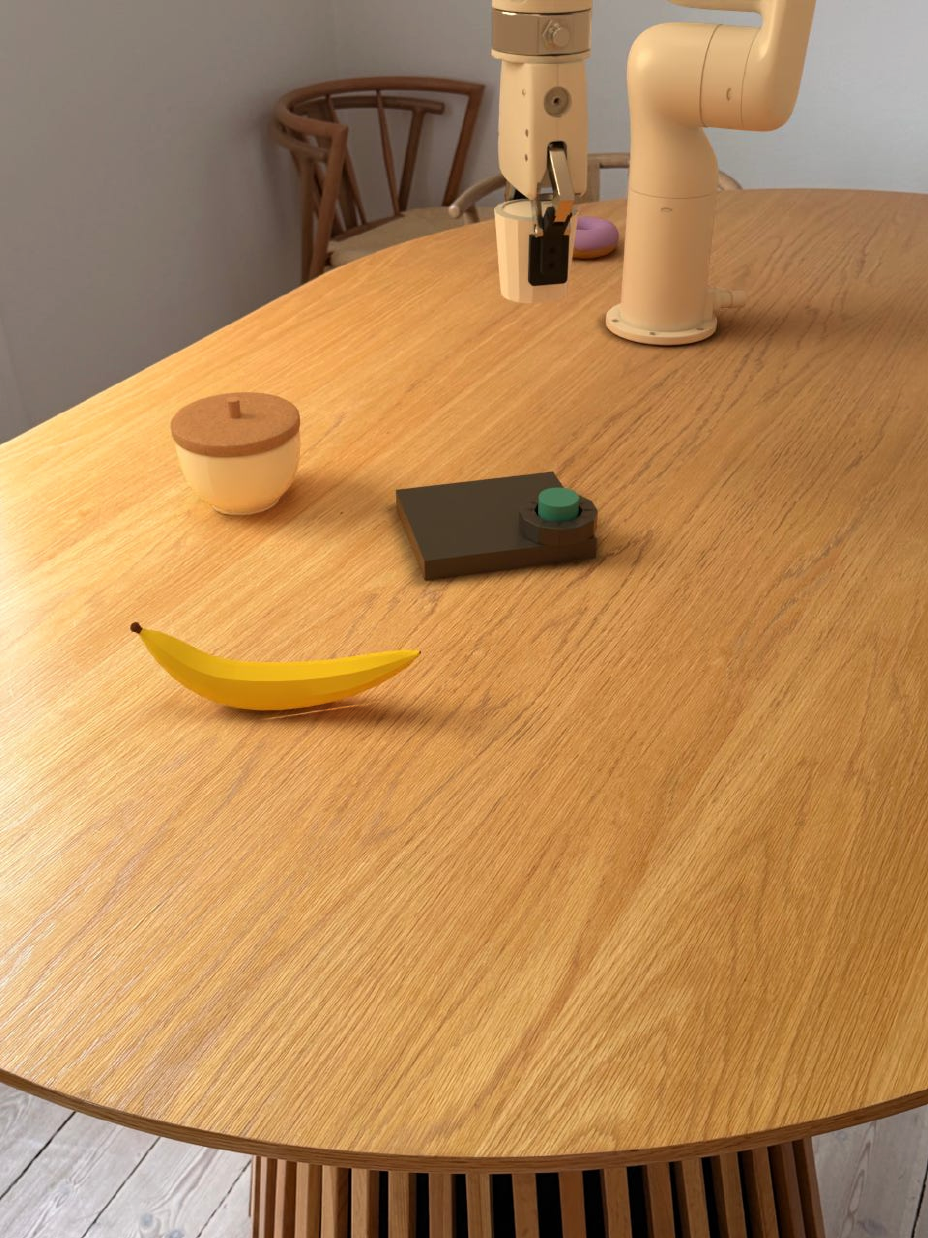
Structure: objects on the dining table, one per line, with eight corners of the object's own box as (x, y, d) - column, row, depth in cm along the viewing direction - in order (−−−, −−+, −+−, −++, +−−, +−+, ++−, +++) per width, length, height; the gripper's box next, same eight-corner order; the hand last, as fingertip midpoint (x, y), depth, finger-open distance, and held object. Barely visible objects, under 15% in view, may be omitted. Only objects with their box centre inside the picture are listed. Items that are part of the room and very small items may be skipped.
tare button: (571, 502, 99) (572, 485, 98) (583, 521, 96) (584, 503, 95) (533, 506, 98) (533, 489, 97) (544, 525, 96) (545, 508, 95)
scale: (558, 489, 107) (560, 453, 105) (604, 561, 97) (607, 523, 95) (396, 508, 104) (394, 472, 102) (426, 585, 94) (425, 546, 92)
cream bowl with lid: (326, 480, 109) (318, 382, 103) (273, 538, 100) (261, 434, 95) (220, 463, 112) (207, 367, 106) (159, 518, 103) (142, 416, 98)
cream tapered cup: (575, 280, 105) (579, 197, 101) (573, 307, 99) (577, 220, 95) (496, 278, 106) (497, 195, 102) (490, 305, 100) (490, 218, 96)
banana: (420, 725, 80) (418, 647, 77) (138, 714, 81) (123, 636, 78) (425, 698, 83) (422, 621, 79) (151, 687, 84) (136, 611, 80)
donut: (609, 262, 157) (604, 224, 155) (542, 269, 161) (536, 233, 159) (629, 240, 165) (624, 204, 163) (564, 247, 169) (558, 212, 166)
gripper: (627, 50, 85) (611, 299, 95) (555, 16, 99) (547, 236, 109) (524, 55, 84) (518, 307, 94) (466, 20, 98) (466, 242, 108)
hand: (534, 267), depth 101 cm, fingers closed on cream tapered cup, 6 cm apart
